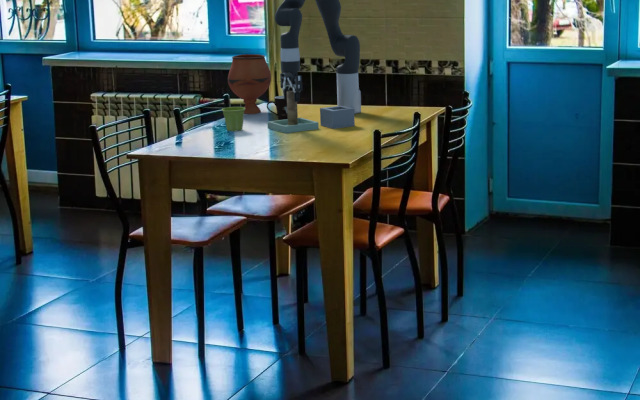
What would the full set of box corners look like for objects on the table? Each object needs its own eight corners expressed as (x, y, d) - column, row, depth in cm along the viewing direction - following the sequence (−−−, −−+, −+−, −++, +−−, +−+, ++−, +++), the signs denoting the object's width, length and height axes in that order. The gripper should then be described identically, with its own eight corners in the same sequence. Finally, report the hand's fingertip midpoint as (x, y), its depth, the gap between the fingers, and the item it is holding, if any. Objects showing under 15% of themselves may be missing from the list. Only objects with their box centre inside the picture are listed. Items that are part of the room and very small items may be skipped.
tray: (300, 123, 423) (300, 117, 423) (318, 128, 410) (318, 122, 410) (267, 128, 416) (267, 121, 416) (285, 133, 403) (284, 126, 403)
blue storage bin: (341, 122, 423) (341, 105, 421) (354, 125, 414) (354, 108, 413) (320, 125, 418) (319, 108, 416) (332, 128, 410) (332, 111, 408)
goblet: (243, 117, 445) (240, 59, 439) (221, 112, 460) (218, 55, 454) (281, 112, 455) (278, 55, 449) (259, 107, 470) (256, 52, 464)
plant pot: (242, 132, 409) (241, 110, 407) (219, 132, 411) (218, 110, 409) (249, 128, 418) (248, 106, 416) (226, 128, 420) (225, 106, 418)
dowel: (295, 125, 416) (293, 90, 413) (299, 126, 412) (298, 91, 409) (286, 126, 414) (284, 91, 411) (290, 127, 411) (289, 92, 407)
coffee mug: (297, 119, 435) (296, 95, 433) (295, 122, 427) (294, 98, 425) (270, 119, 437) (268, 95, 434) (267, 123, 428) (265, 98, 426)
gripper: (307, 60, 403) (308, 101, 406) (290, 57, 415) (291, 97, 419) (290, 61, 399) (291, 103, 403) (273, 59, 411) (275, 99, 415)
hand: (291, 100), depth 411 cm, fingers open, 8 cm apart
